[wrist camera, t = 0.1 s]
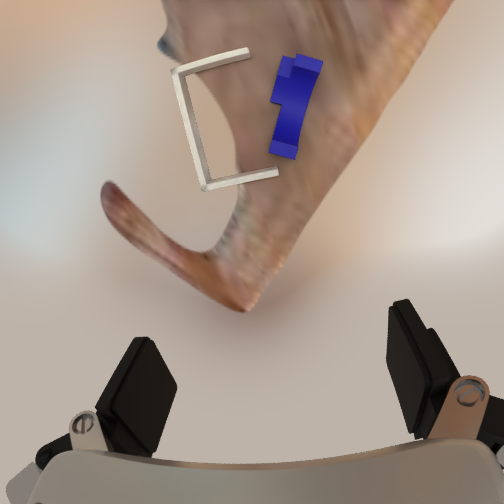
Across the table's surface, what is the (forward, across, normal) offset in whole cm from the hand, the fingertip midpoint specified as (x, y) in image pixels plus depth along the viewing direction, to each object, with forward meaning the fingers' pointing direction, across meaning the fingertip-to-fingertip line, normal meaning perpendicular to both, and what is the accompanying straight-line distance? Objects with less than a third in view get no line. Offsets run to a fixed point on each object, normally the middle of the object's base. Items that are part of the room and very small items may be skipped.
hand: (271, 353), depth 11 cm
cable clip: (+32, -4, -10) cm, 33 cm away
